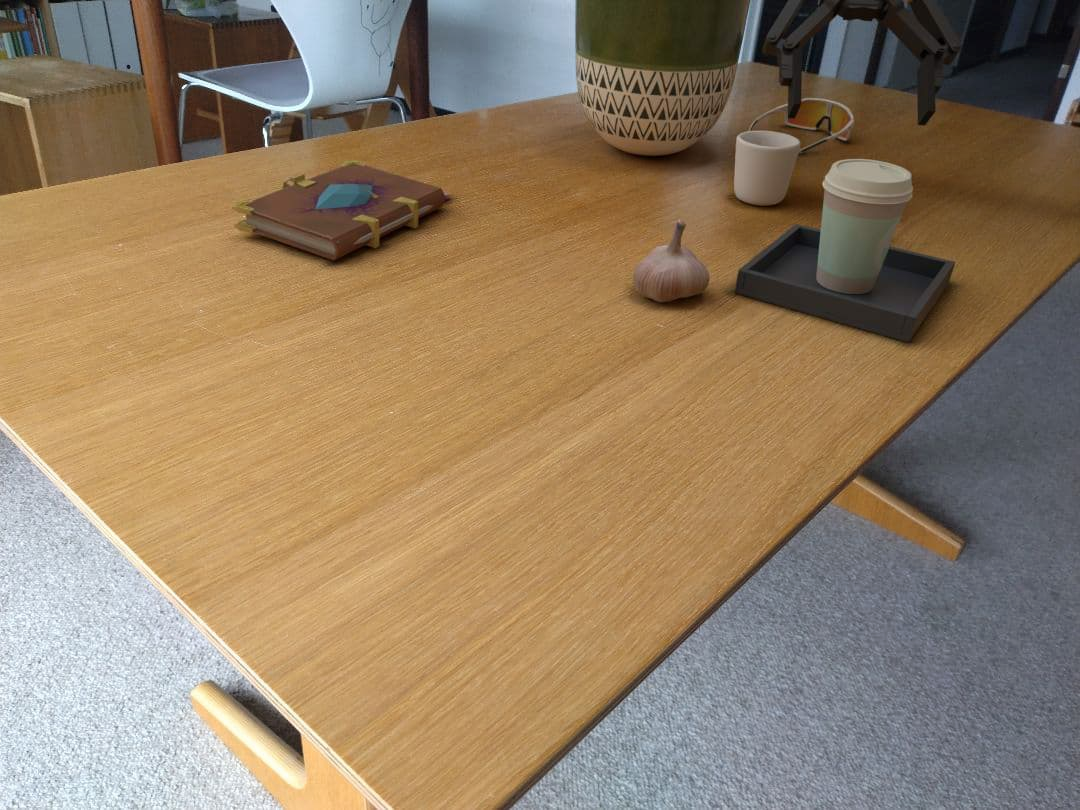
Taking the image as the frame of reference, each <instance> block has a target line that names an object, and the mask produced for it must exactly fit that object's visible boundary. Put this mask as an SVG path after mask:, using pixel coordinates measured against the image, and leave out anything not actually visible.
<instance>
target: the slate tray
mask: <svg viewBox="0 0 1080 810" xmlns="http://www.w3.org/2000/svg"><path fill="white" fill-rule="evenodd" d="M820 233H821V228H815V227H811V226H807V225H802V224H800V223H799V224H798V223H795V224H794V225H792V226H791V227H790V228H788V229H787V230H785V232H784V233H782V234H781V235H780V236H779V237H777V239H775V240H774V241H772V242H771V243H770V244H768V245H767V246H766V247H765V248H764V249H763V250H762V251H760V252H759V253H758V254H757V255H755V256H754V257H753V258H752V259H750V260H749V261H748V262H746V263H745V264H744V265H742V266H741V267H740V268H739V269H738V271H737V276H736V282H735V289H734V294H738V295H740V296H744V297H748V298H751V299H755V300H758V301H762V302H765V303H769V304H772V305H775V306H779V307H783V308H787V309H790V310H794V311H797V312H800V313H804V314H807V315H811V316H813V317H818V318H821V319H825V320H828V321H832V322H834V323H839V324H843V325H846V326H850V327H853V328H857V329H860V330H863V331H867V332H870V333H874V334H877V335H880V336H884V337H888V338H892V339H895V340H898V341H901V342H906V343H909V342H910V341H911V339H912V338H913V337H914V335H915V334H916V332H917V331H918V329H919V328H920V327H921V325H922V323H923V322H924V321H925V319H926V318H927V317H928V314H929V313H931V310H932V309H933V308H934V306H935V305H936V303H937V301H938V300H939V299H940V297H941V296H942V294H943V293H944V292H945V290H946V288H947V287H948V286H949V284H950V281H951V278H952V274H953V272H954V269H955V265H956V261H954V260H949V259H946V258H941V257H936V256H934V255H933V256H932V255H929V254H925V253H920V252H916V251H912V250H908V249H903V248H899V247H895V246H891V245H890V247H889V249H888V252H887V254H886V257H885V260H884V262H883V265H882V267H881V270H880V272H879V275H878V277H877V280H876V282H875V285H874V287H873V289H872V290H871V291H869V292H867V293H864V294H844V293H839V292H835V291H832V290H829V289H827V288H825V287H823V286H821V285H820V284H819V283H818V282H817V280H816V276H817V264H818V254H819V243H820Z"/></svg>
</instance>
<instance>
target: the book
mask: <svg viewBox="0 0 1080 810" xmlns="http://www.w3.org/2000/svg"><path fill="white" fill-rule="evenodd" d="M339 165H340V166H339V167H336V168H334V169H330V170H328V171H326V172H324V173H321V174H317V175H316V176H313V177H309V178H307V179H306V175H305V173H302V174H299V175H296V176H293V177H290V178H288V179H286V180H281V184H280V185H281V186H280V189H279V190H275V191H274V192H271V193H268V194H266V195H262V196H260V197H258V198H255V199H252V200H250V199H248V200H242V201H238V202H236V203H235V204H234V205H232V206H231V209H232V210H233V211H234V212H236V213H238V214H243V215H245V218H246V219H241V220H239V221H237V222H236V223H235V224H233V227H234V228H235V229H236V230H238V231H239V232H243V233H249V234H258V235H260V236H263V237H265V238H268V239H271V240H275V241H278V242H280V243H283V244H286V245H289V246H292V247H294V248H297V249H300V250H303V251H305V252H309V253H312V254H314V255H316V256H320V257H322V258H326V259H329V260H331V261H336V260H338V259H340V258H342V257H344V256H346V255H348V254H350V253H352V252H354V251H356V250H359V249H360V248H363V247H365V246H368V247H371V248H373V249H376V248H378V247H380V239H381V238H382V237H384V236H386V235H388V234H391V233H392V232H394V231H397V230H398V229H400V228H402V227H405V226H406V227H409V228H411V229H417V228H418V227H419V219H421V218H423V217H424V216H426V215H429V214H431V213H432V212H435V211H437V210H438V209H441V208H442V207H443V205H444V204H445V202H446V200H447V199H448V198H451V197H452V196H453V195H452V194H445V193H444V191H443V189H442V188H441V187H440V186H436V185H433V184H429V183H425V182H423V181H419V180H416V179H412V178H409V177H406V176H402V175H400V174H395V173H392V172H389V171H386V170H383V169H379V168H376V167H372V166H369V165H368V164H367V163H364V162H363V161H361V160H360V159H357V160H354V159H353V160H351V159H350V160H349V159H348V160H346V161H344V162H343V163H341V164H339ZM288 182H292V185H291V184H289V183H288Z"/></svg>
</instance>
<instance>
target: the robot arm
mask: <svg viewBox="0 0 1080 810" xmlns="http://www.w3.org/2000/svg"><path fill="white" fill-rule="evenodd" d="M803 2H804V0H787V2H786V4H785V5H784V7H783V9H782V10H781V12H780V13H779V14H778V16H777V18H776V20H775V21H774V23H773V25H772V26H771V28H770V30H769V31H768V33H766V37H765V40H764V42H763V46H762V49H761V54H763V56H765V57H770V56H773V57H776V58H777V59H776V63H777V65H778V82H779V85H780V86H781V87H787V104H788V118H794V119H795V117H796V115H797V113H798V110H799V108H800V106H801V100H802V90H803V89H802V86H803V85H802V83H803V82H802V81H803V80H802V78H803V47H804V46H805V45H806V44H807V43H808V42H809V41H810V40H811V39H813V37H814V36H816V34H817V33H819V32H820V31H821V30H822V29H823V28H824V27H825V26H828V25H829V24H830V23H831V22H832V21H833V20H834V19H835V18H836V17H837V16H838V17H840V18H842V21H853V20H854V21H855V20H860V21H863V22H873V20H875V21H877V23H879V25H880V26H881V27H882V28H884V29H886V28H887V29H888V30H890V32H891V33H893V35H894V36H895V37H896V38H897V39H898V40H899V41H900V42H901V43H902V45H904V46H905V47H906V49H907V50H908V51H909V52H910V53H911V55H913V56H914V57H915V58H916V59H917V60H918V62H920V65H919V67H918V68H917V69H916V89H917V90H916V91H917V93H916V94H917V98H916V99H917V126H926V125H927V123H929V121H930V119H932V117H933V116H934V114H935V113H936V94H938V92H939V91H940V90H941V88H942V87H943V84H944V82H945V81H944V65H945V66H949V65H952V64H953V62H954V60H955V59H956V57H957V56H958V55H959V53H960V52H961V50H962V49H963V44H962V42H961V41H960V39H959V37H958V35H957V34H956V32H955V31H954V28H953V27H952V25H951V24H950V21H949V20H948V19H947V17H946V15H945V13H944V12H943V10H942V8H941V7H940V5H939V3H938V1H937V0H905V1H904V0H824V2H823V3H822V4H821V5H820V6H819V7H818V8H816V9H815V11H813V13H812V14H810V15H809V16H808V17H807V18H806V19H805V20H804V21H803V22H802V23H801V24H800V25H799V26H798V27H797V28H796V29H795V30H794V31H792V33H790V34H789V36H788V37H786V39H784V38H783V37H784V36H785V34H786V32H787V31H788V29H789V28H790V26H791V24H792V22H793V21H794V19H795V17H796V16H797V14H798V13H799V11H800V9H801V8H802V6H803ZM905 4H907V5H910V8H911V11H912V12H910V11H909V10H908V9H907V7H906V6H905ZM887 8H888V10H887ZM912 13H913V14H912Z"/></svg>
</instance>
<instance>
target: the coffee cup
mask: <svg viewBox="0 0 1080 810" xmlns="http://www.w3.org/2000/svg"><path fill="white" fill-rule="evenodd" d="M912 179H913V178H912V173H911V172H910V171H909V170H907V169H906V168H904V167H902V166H900V165H897V164H894V163H891V162H887V161H882V160H876V159H866V158H846V159H840V160H837V161H835V162H833V164H832V165H831V167H830V169H829V171H828V172H827V174H825V176H824V179H823V182H822V187H823V189H824V192H823V203H822V213H821V222H820V223H821V224H820V230H821V233H820V243H819V254H818V264H817V276H816V280H817V282H818V283H819V284H820V285H821V286H823V287H825V288H827V289H829V290H832V291H835V292H839V293H844V294H864V293H867V292H869V291H871V290H872V289H873V287H874V285H875V282H876V280H877V277H878V275H879V272H880V270H881V267H882V265H883V262H884V260H885V257H886V254H887V252H888V249H889V247H890V246H891V244H892V241H893V239H894V237H895V234H896V231H897V229H898V226H899V224H900V221H901V219H902V216H903V213H904V211H905V208H906V206H907V204H908V202H909V201H910V200H912V198H913V191H914V186H913V184H912V181H913V180H912Z"/></svg>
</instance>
